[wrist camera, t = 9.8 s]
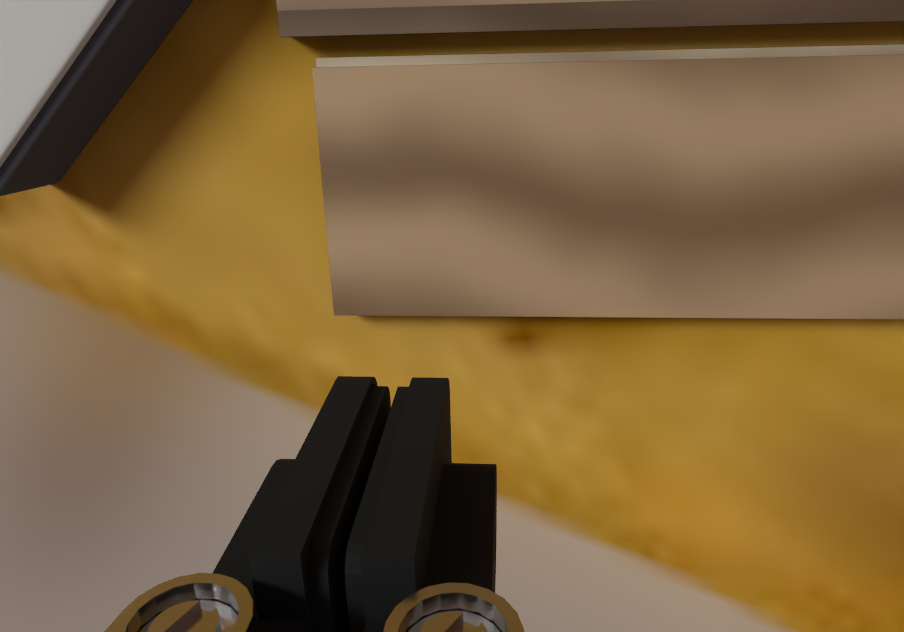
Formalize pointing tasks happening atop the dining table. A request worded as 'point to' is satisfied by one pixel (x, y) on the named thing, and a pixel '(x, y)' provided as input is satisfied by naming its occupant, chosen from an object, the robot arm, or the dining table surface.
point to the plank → (616, 183)
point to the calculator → (68, 76)
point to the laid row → (562, 15)
